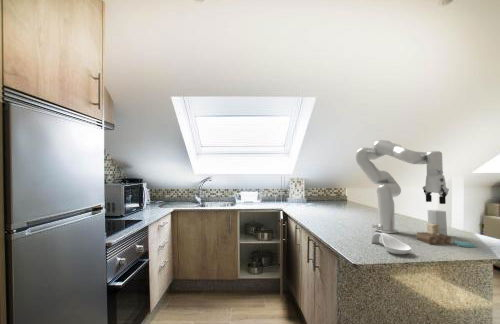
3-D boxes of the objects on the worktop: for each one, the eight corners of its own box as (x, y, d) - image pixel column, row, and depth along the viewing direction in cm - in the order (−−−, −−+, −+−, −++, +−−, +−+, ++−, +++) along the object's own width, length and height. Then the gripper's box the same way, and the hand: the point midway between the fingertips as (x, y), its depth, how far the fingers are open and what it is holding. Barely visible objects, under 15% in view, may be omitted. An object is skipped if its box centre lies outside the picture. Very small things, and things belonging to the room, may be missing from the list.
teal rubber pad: (463, 247, 137) (463, 245, 137) (449, 242, 146) (449, 241, 146) (479, 247, 137) (479, 245, 138) (465, 242, 146) (465, 240, 146)
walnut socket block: (429, 244, 143) (429, 236, 143) (417, 239, 153) (417, 232, 153) (450, 244, 144) (450, 236, 144) (437, 239, 154) (436, 232, 154)
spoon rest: (417, 256, 124) (417, 241, 124) (395, 258, 122) (394, 242, 122) (383, 242, 147) (383, 229, 147) (364, 243, 145) (364, 230, 145)
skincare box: (447, 237, 159) (447, 211, 159) (436, 237, 159) (436, 211, 159) (437, 233, 167) (437, 209, 167) (427, 233, 167) (427, 209, 167)
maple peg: (432, 242, 146) (432, 224, 147) (427, 240, 150) (427, 223, 151) (439, 242, 146) (439, 224, 147) (434, 240, 150) (433, 223, 151)
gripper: (453, 172, 142) (454, 204, 141) (428, 172, 159) (429, 200, 158) (441, 173, 141) (441, 204, 140) (417, 172, 158) (418, 201, 158)
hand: (435, 202), depth 149 cm, fingers open, 9 cm apart
